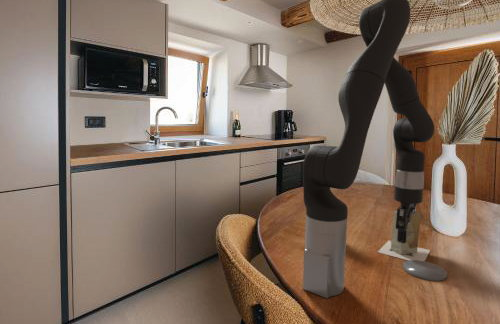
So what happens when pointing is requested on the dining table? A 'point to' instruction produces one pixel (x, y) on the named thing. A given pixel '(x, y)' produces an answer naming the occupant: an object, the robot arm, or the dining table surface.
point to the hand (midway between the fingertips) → (405, 238)
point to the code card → (418, 256)
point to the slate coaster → (425, 270)
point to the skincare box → (411, 237)
